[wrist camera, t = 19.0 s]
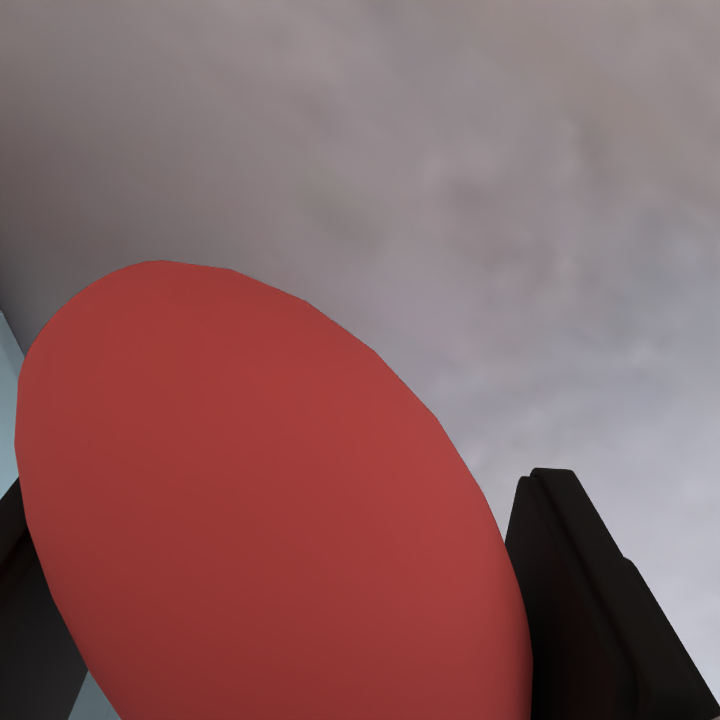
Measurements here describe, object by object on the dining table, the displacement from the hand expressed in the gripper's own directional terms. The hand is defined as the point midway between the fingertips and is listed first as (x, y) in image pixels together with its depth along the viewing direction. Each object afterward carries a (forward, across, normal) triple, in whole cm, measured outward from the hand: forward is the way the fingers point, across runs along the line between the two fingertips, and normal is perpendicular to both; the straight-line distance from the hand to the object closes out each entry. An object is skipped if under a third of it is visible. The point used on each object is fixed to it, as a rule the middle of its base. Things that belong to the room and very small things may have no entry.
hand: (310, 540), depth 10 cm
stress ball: (+1, 0, 0) cm, 1 cm away
